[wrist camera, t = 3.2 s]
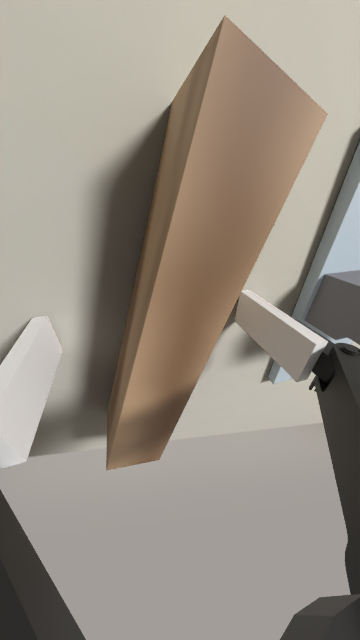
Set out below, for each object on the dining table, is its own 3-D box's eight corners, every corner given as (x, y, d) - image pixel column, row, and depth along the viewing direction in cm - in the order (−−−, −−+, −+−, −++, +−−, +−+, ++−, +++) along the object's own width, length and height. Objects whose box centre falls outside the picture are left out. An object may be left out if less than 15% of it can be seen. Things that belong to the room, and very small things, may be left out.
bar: (107, 408, 17) (106, 470, 13) (170, 105, 8) (224, 15, 4) (149, 405, 19) (159, 459, 15) (240, 148, 10) (327, 113, 6)
